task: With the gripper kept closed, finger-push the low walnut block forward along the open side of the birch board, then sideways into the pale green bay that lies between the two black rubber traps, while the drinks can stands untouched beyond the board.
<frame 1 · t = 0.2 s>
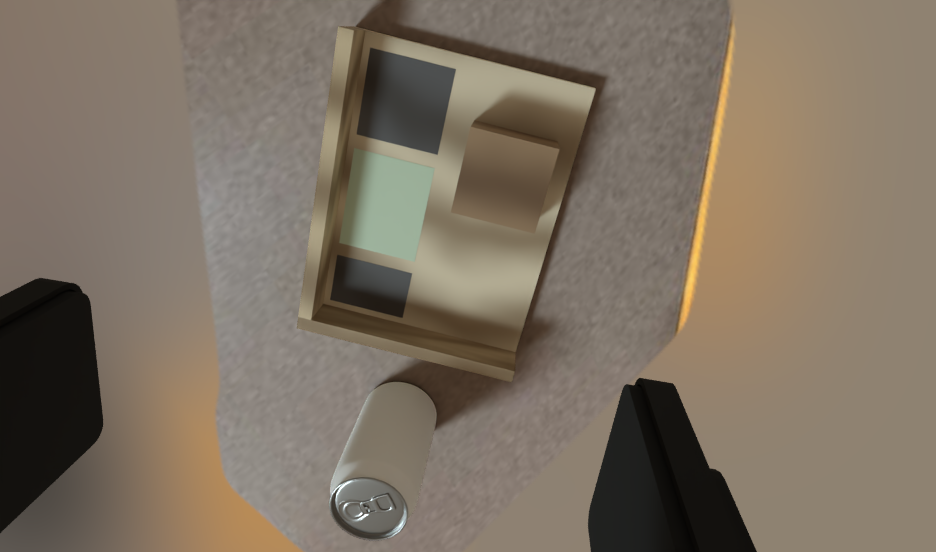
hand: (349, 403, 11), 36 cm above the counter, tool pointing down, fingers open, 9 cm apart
block: (505, 172, 44), point 1 cm above the counter, touching board
board: (441, 206, 46), on the counter
can: (401, 409, 54), on the counter
green pad: (388, 203, 46), resting on board
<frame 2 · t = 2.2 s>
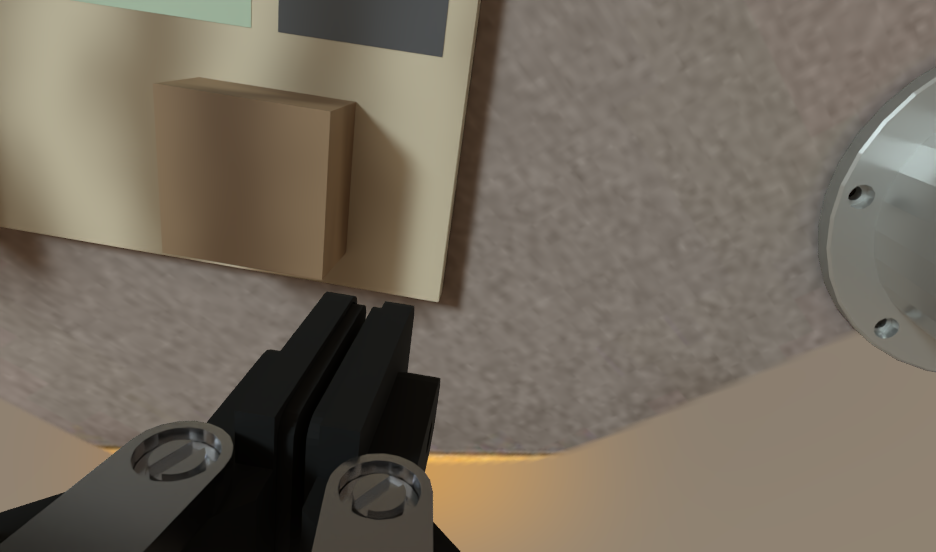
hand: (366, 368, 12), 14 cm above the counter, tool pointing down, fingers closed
block: (275, 168, 24), point 1 cm above the counter, touching board
board: (186, 44, 23), on the counter
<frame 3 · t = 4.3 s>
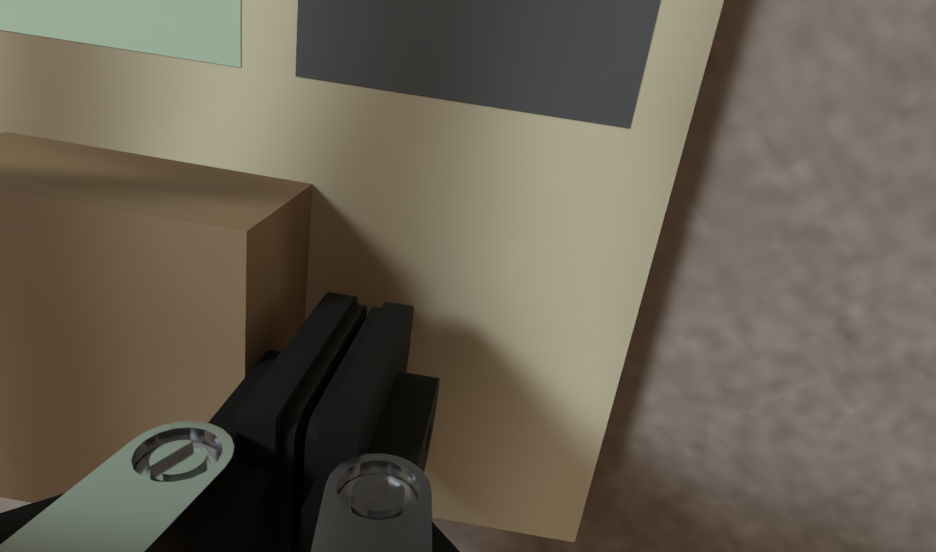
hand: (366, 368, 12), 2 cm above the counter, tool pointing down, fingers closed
block: (165, 298, 13), point 1 cm above the counter, touching board, gripper
board: (116, 93, 12), on the counter
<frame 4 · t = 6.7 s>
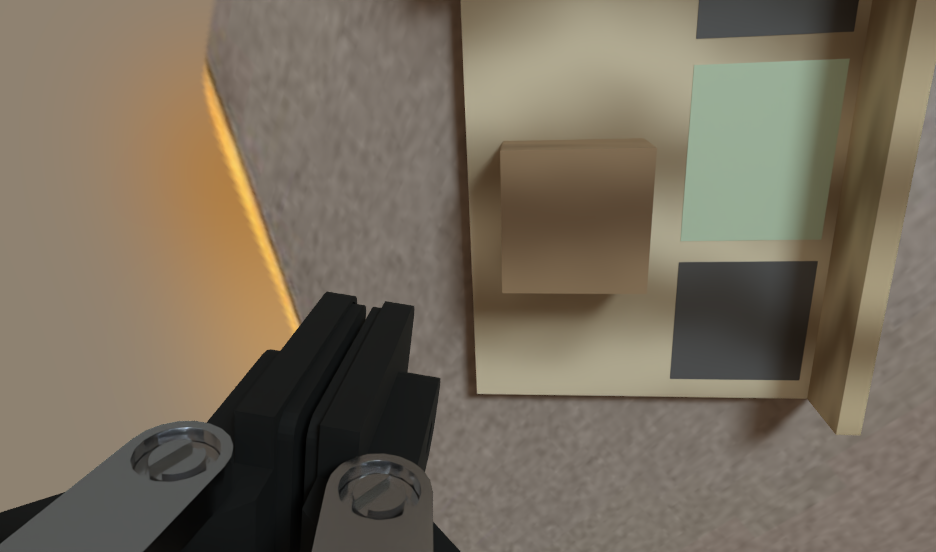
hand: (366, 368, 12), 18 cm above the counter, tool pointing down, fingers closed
block: (571, 207, 27), point 1 cm above the counter, touching board
board: (657, 171, 28), on the counter
green pad: (751, 151, 27), resting on board
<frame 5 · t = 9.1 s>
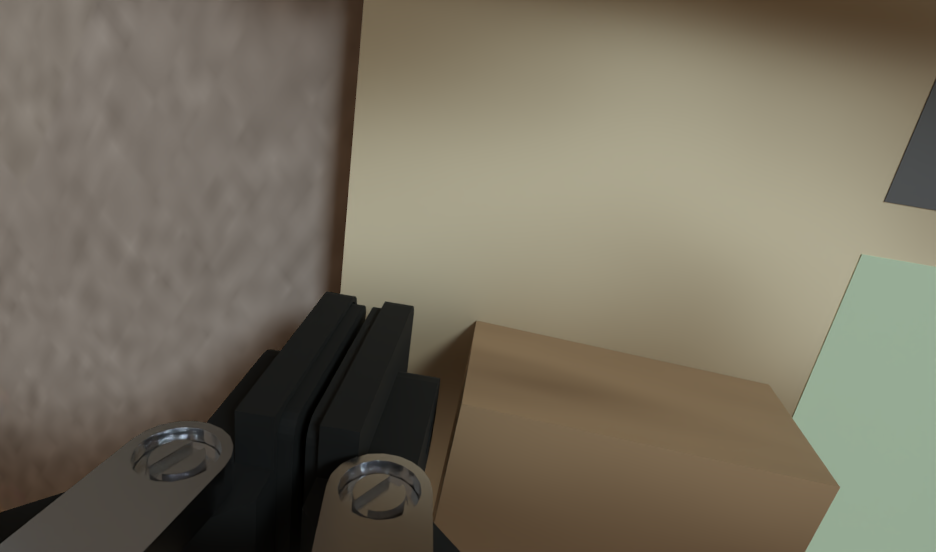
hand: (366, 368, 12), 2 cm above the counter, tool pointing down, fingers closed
block: (582, 469, 13), point 1 cm above the counter, touching gripper
board: (715, 416, 14), on the counter
green pad: (907, 421, 13), resting on board
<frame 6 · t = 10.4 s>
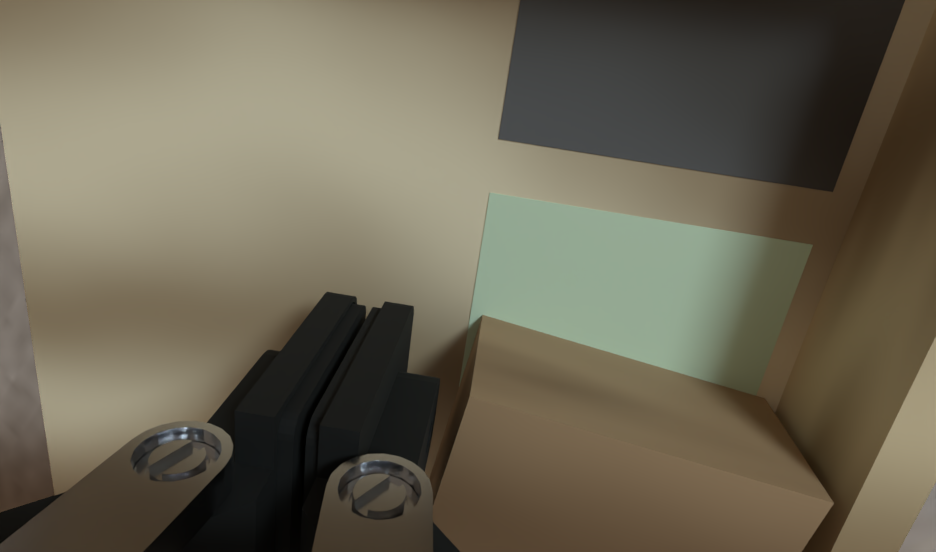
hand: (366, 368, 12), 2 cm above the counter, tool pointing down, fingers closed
block: (574, 470, 13), point 1 cm above the counter, touching board, green pad, gripper
board: (419, 364, 14), on the counter
green pad: (599, 365, 14), resting on board
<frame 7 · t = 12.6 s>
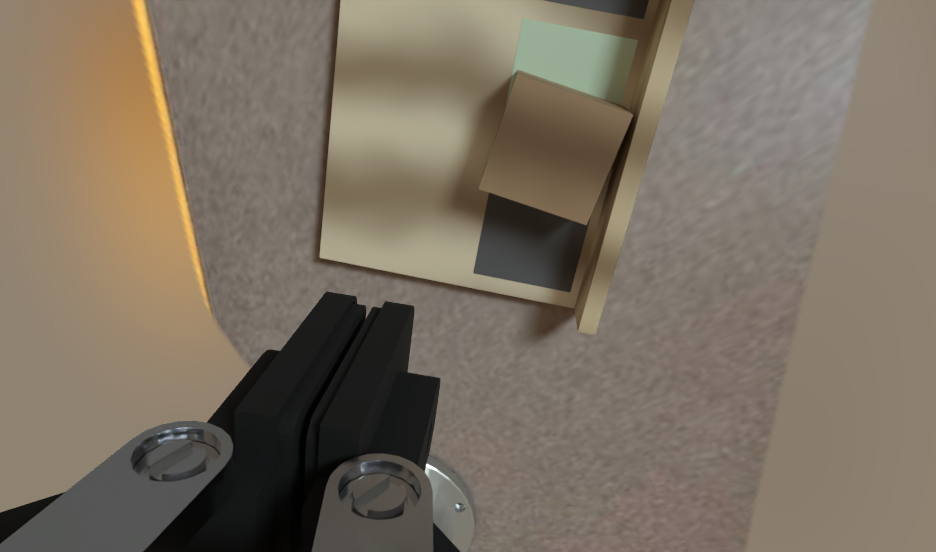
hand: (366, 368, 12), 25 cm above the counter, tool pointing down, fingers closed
block: (551, 142, 34), point 1 cm above the counter, touching board, green pad
board: (488, 101, 34), on the counter
green pad: (562, 101, 34), resting on board
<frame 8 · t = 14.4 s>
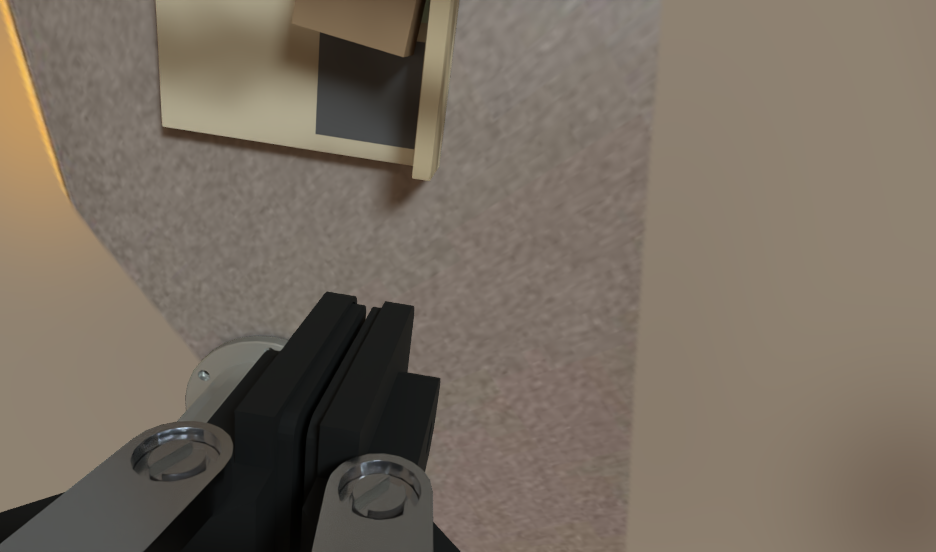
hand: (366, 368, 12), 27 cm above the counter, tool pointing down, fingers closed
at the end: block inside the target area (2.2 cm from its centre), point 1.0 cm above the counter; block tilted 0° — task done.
